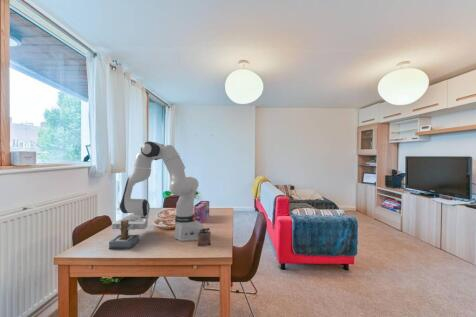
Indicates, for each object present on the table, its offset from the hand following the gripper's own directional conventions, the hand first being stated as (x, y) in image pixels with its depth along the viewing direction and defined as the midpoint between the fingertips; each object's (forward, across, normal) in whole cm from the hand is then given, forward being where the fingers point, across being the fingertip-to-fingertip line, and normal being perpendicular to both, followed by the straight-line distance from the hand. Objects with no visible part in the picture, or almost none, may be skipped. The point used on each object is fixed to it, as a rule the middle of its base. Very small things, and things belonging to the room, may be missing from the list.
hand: (124, 228), depth 137 cm
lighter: (-2, +47, +10) cm, 48 cm away
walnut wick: (-1, 0, +7) cm, 7 cm away
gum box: (-59, +38, +10) cm, 70 cm away
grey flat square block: (-1, 0, +10) cm, 10 cm away
